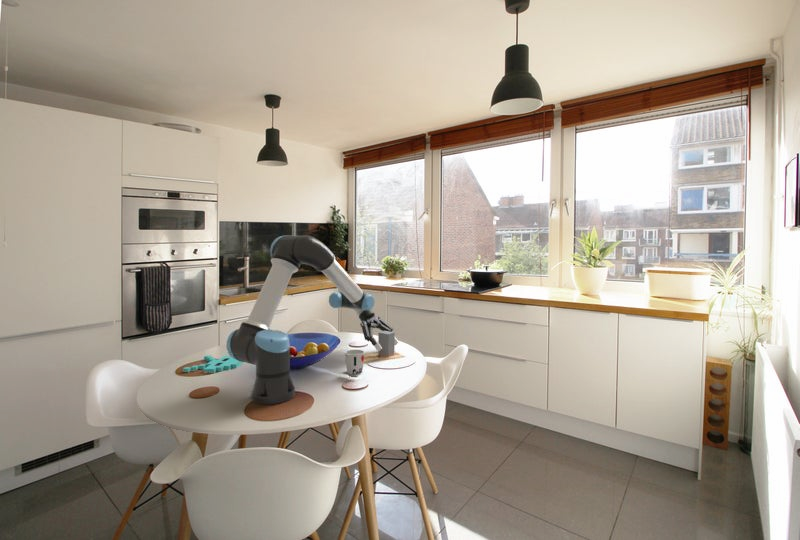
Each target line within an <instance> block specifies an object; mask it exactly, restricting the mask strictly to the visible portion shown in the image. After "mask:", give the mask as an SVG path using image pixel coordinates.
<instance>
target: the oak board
mask: <svg viewBox="0 0 800 540" xmlns="http://www.w3.org/2000/svg"><path fill="white" fill-rule="evenodd" d="M400 358H406V356H405V355H403V354H401V353H398V352H396V351H395V350H394V355H393V356H390V357H385V356H380V355H378V351H376V352H370V353H364V364H363V365H366V364H370V363H371V364H372V363H377V362H382V361H389V360H395V359H400Z"/></svg>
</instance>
